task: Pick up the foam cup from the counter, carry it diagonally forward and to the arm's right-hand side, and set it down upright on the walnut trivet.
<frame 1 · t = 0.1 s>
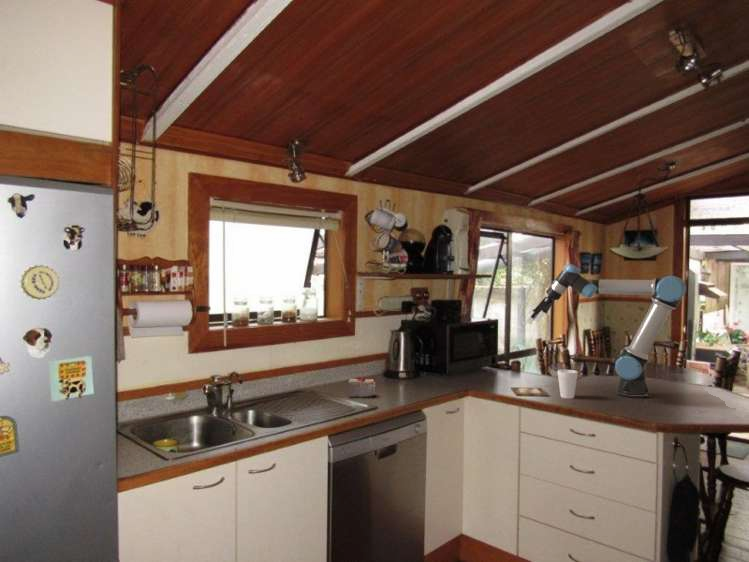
hand: (532, 321, 290), 36 cm above the table, tool tilted 35°, fingers open, 13 cm apart
food item: (361, 396, 270), on the table
foam cup: (567, 397, 270), on the table
trivet: (529, 392, 279), on the table
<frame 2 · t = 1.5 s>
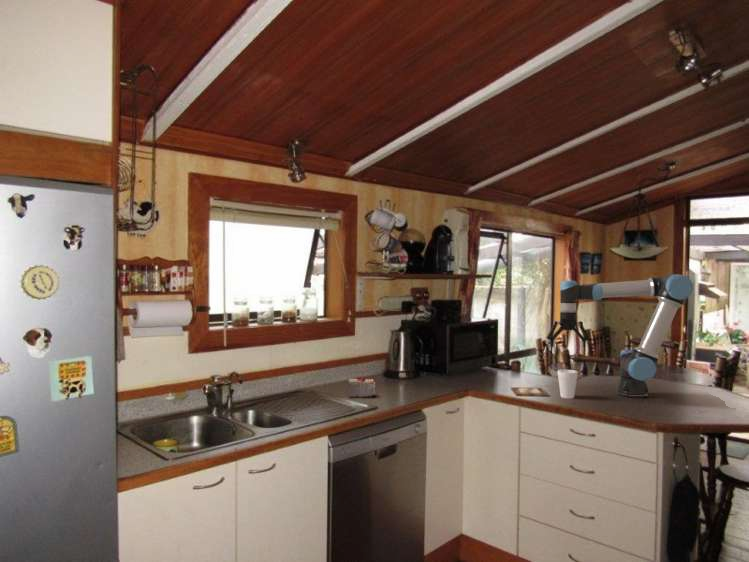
hand: (567, 354, 270), 22 cm above the table, tool pointing down, fingers open, 13 cm apart
nothing on the table moved.
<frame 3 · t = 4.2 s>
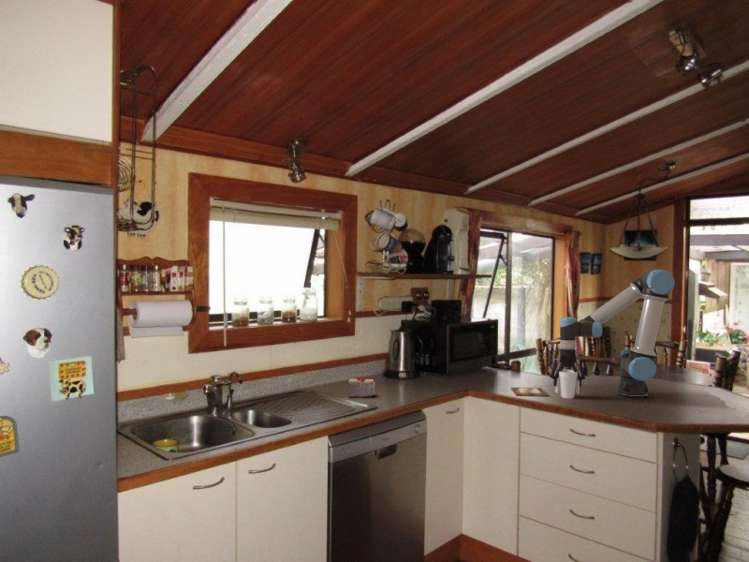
hand: (567, 392, 270), 2 cm above the table, tool pointing down, fingers closed on foam cup, 9 cm apart
foam cup: (567, 397, 270), on the table, touching gripper
everything else where it was.
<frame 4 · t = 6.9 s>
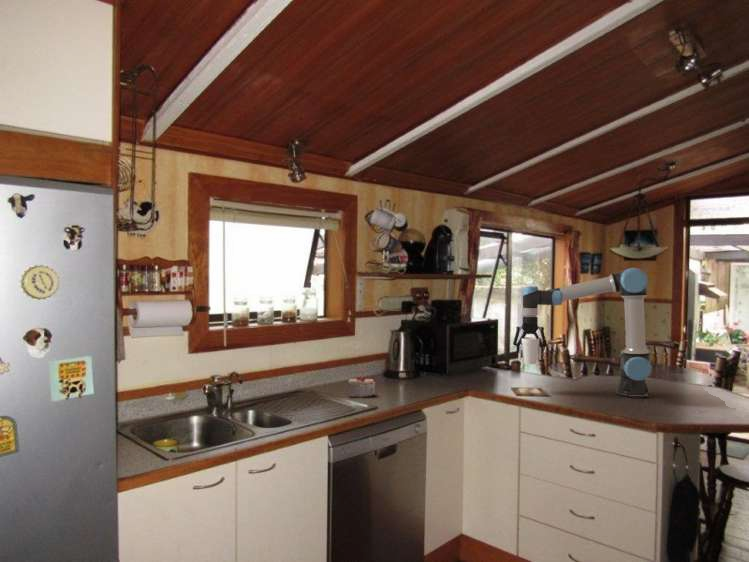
hand: (529, 359, 279), 17 cm above the table, tool pointing down, fingers closed on foam cup, 9 cm apart
foam cup: (529, 363, 279), point 15 cm above the table, touching gripper
everything else where it was.
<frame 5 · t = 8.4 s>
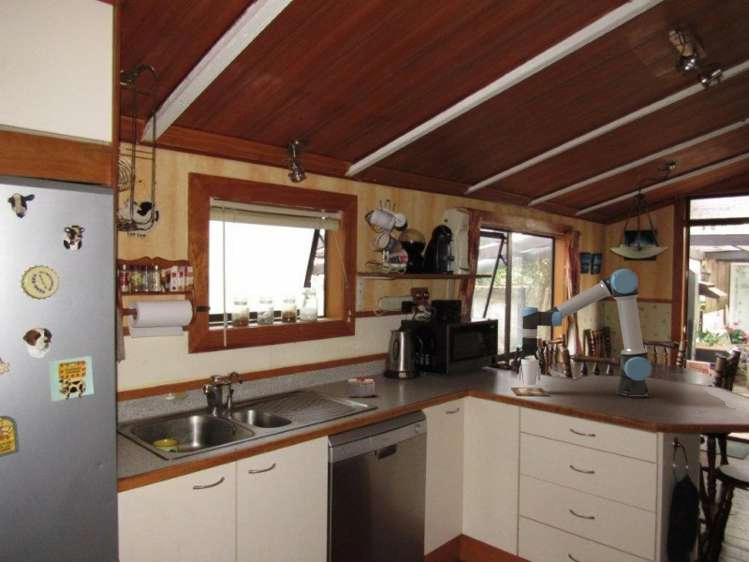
hand: (529, 380, 279), 7 cm above the table, tool pointing down, fingers closed on foam cup, 9 cm apart
foam cup: (529, 384, 279), point 4 cm above the table, touching gripper
everything else where it was.
when the fingers open (5 cm above the table, at t = 9.7 s): foam cup drops 1 cm, resting on trivet.
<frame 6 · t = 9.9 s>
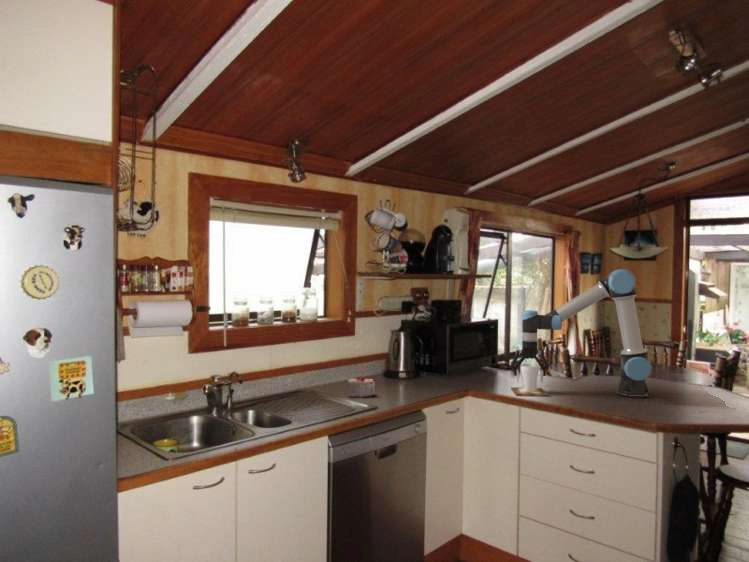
hand: (529, 382, 279), 6 cm above the table, tool pointing down, fingers open, 12 cm apart
foam cup: (529, 390, 279), point 1 cm above the table, touching trivet
everything else where it was.
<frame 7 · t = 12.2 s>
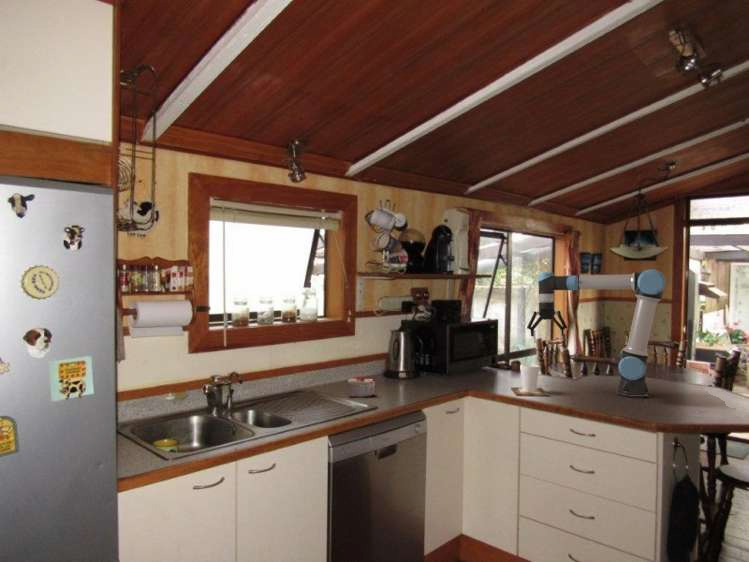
hand: (547, 342, 282), 26 cm above the table, tool pointing down, fingers open, 13 cm apart
nothing on the table moved.
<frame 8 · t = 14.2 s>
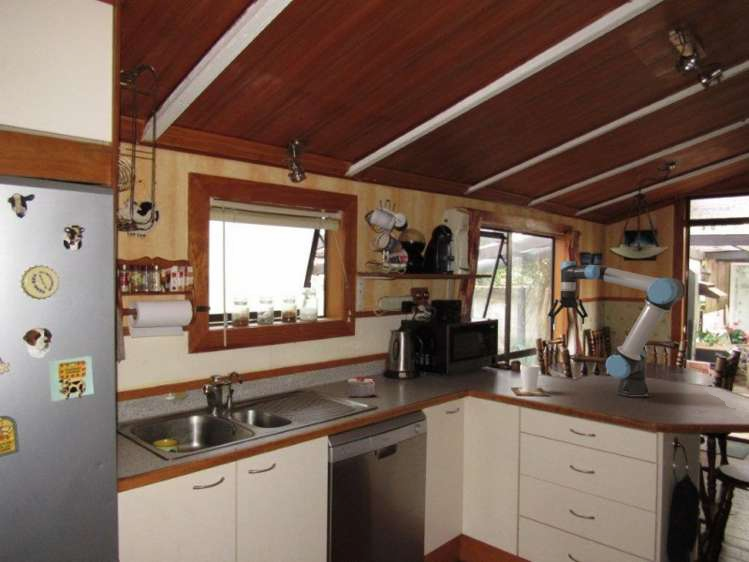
hand: (567, 330, 287), 32 cm above the table, tool pointing down, fingers open, 13 cm apart
nothing on the table moved.
at the end: foam cup inside the target area on the trivet (0.1 cm from its centre), point 1.0 cm above the trivet's base; foam cup tilted 0°; the gripper is holding nothing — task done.
